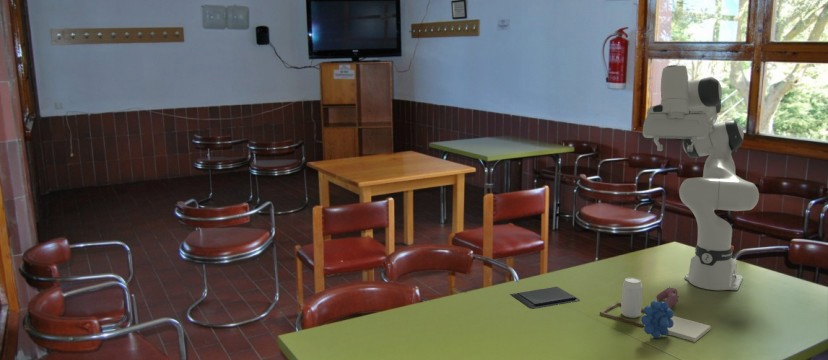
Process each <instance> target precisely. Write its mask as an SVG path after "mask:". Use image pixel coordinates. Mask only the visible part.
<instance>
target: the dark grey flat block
mask: <svg viewBox="0 0 828 360" xmlns="http://www.w3.org/2000/svg"><path fill="white" fill-rule="evenodd" d="M509 296H512V297H513V299H515V300H516V301H519V302H520V303H521V304H523V305H524V306H526V307H527V308H528V309H531V310H536V309H541V308H547V307H551V306H552V307H553V306H559V305H564V304H570V303H571V302H572V303H577V302H580V301H581V300H580V299H579V298H578V297H577V296H574V295H573V294H571V293H570V292H568V291H566V290H564V289H563V288H561V287H559V286H551V287H544V288H539V289H533V290H532V289H531V290H526V291H525V290H524V291H518V292H515V293H510V294H509ZM558 304H559V305H558Z"/></svg>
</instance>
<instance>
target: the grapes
mask: <svg viewBox="0 0 828 360" xmlns="http://www.w3.org/2000/svg"><path fill="white" fill-rule="evenodd" d="M643 309H644V312H643V313H644V315H642V316H641V318H640V323H643V324H644V327H643V331H644V333H646V334H647V335H651V336H652V338H654V339H659V338H660V337H661V336H664V337H665V336H668V335H669V334H668V328H671V327H673V325H674V323H673V320H672V319H670V318H672V317H673V316H675V315H674V311H673V310H672V309H671V308H669V307H668V304H667V303H666V302H664V300H661V301H659V300H655V299H654V300H652V302H651V303H650V305H645V306H644V308H643Z"/></svg>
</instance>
